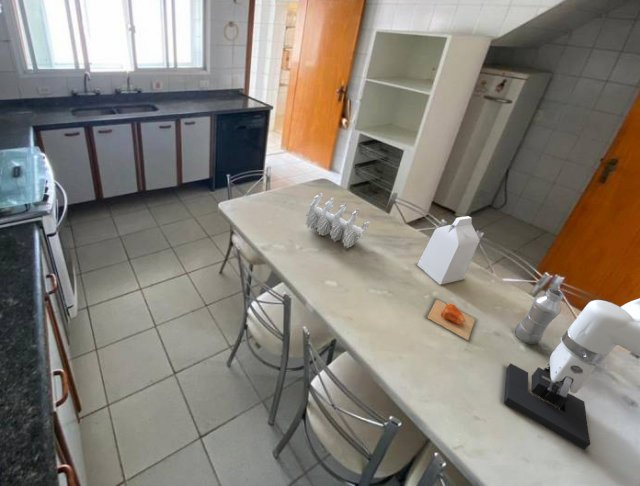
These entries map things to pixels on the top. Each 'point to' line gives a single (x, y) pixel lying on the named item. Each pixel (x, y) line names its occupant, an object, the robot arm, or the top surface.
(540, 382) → the dark grey square block
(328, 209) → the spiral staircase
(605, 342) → the robot arm
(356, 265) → the top surface
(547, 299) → the plastic bottle
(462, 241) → the milk
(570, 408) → the dark grey u-shaped block
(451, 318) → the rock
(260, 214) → the top surface
